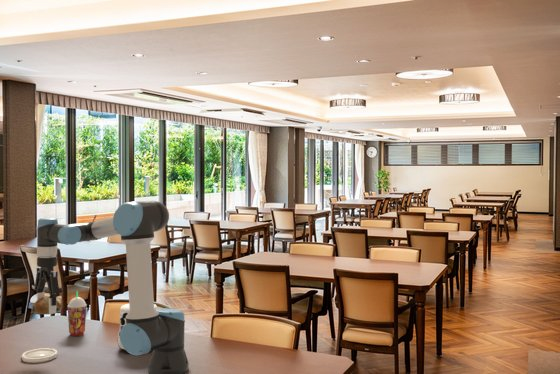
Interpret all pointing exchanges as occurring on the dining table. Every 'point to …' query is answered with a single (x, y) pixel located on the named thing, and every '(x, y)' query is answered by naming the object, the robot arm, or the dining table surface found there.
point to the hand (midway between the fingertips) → (46, 310)
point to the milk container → (124, 320)
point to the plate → (39, 355)
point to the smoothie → (77, 316)
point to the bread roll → (44, 306)
